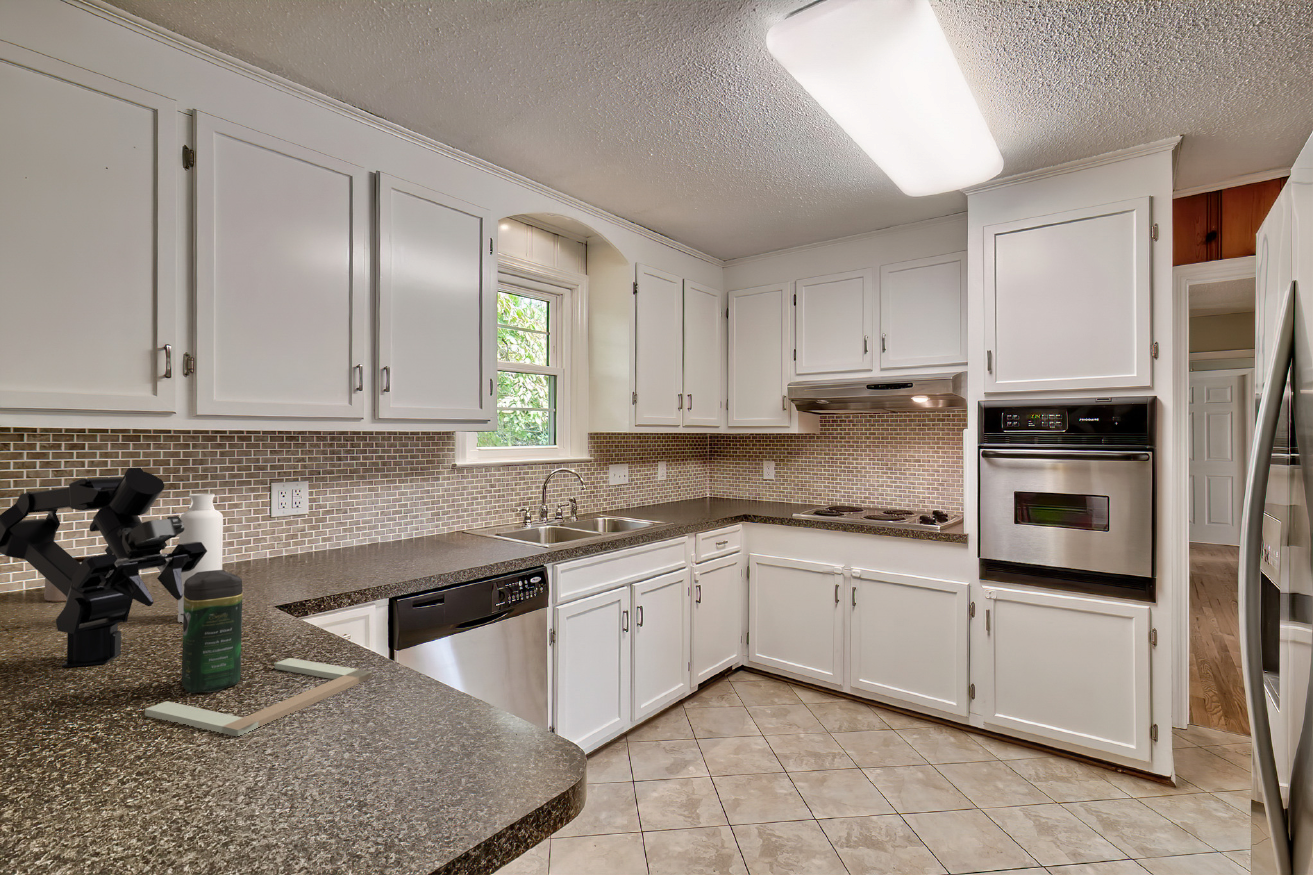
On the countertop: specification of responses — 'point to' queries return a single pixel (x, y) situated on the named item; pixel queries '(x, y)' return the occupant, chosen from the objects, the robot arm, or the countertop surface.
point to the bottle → (202, 537)
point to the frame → (240, 725)
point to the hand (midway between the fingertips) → (166, 601)
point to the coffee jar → (212, 631)
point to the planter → (53, 592)
